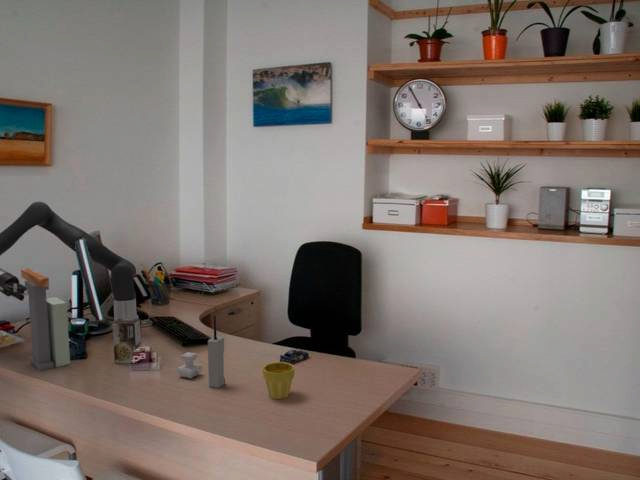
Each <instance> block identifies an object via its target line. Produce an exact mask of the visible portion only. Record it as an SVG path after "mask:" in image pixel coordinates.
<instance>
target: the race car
mask: <svg viewBox="0 0 640 480" xmlns="http://www.w3.org/2000/svg"><path fill="white" fill-rule="evenodd" d="M279 356H280V358H279V362H285V363H289V364H292V365H294V364H296V363H298V362H302V361H303V360H307V359H308V358H309V357H312V356H311V355H310V354H309V353H308V352H306V351H303V350H297V349H292V350H291V349H290V350H288V351H287V352H285V353H284V354H280V355H279Z"/></svg>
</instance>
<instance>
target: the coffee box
mask: <svg viewBox="0 0 640 480" xmlns="http://www.w3.org/2000/svg"><path fill="white" fill-rule="evenodd" d="M141 321H142V320H141V318H139V319H118V320H116V321H115V320H114V321H113V322H112V323H111V324H112V325H111V327H112V338H113V339H112V340H113V354H114V355H113V356H114V364H128V365H129V364H130V362H131V357H132V353H133V351H134V350H136V349H137V348H139V347H142V348H143V342H142V324H141V323H142V322H141Z"/></svg>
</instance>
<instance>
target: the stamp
mask: <svg viewBox="0 0 640 480" xmlns="http://www.w3.org/2000/svg"><path fill="white" fill-rule="evenodd" d="M197 357H198V354H197V353H195V352H189V351H187V352H185V353H184V354H182V355H181V354H180V359H181V361H183V362H185V364H182V365H180V366H178V367H177V368H176V373H177V374H178V375H179V376H180V377H181V378H188V379H192V378H194V377H196V376H199V374H200V373H201V371H202V370H203V365H201V364H198V363H194V361H195V360H197Z"/></svg>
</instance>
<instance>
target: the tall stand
mask: <svg viewBox="0 0 640 480" xmlns="http://www.w3.org/2000/svg"><path fill="white" fill-rule="evenodd" d="M24 285H25V286H26V287H28V295H27V296H28V307H29V320H30V321H29V323H30V336H31V350H32V353H31V354H32V356H30V357H29V362H30V364H31V365H33V366H34V367H35V368H36V369H37V370H39V371H45V370H49V369H54V367H55V365H54V363H53V362H52V361H51V360H50V347H49V332H48V316H47V300H46V298H47V290H49V289H50V285H49V286H48V287H39V286H37V285H35V284H33V283H31V282H29V281H28V280H24Z"/></svg>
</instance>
